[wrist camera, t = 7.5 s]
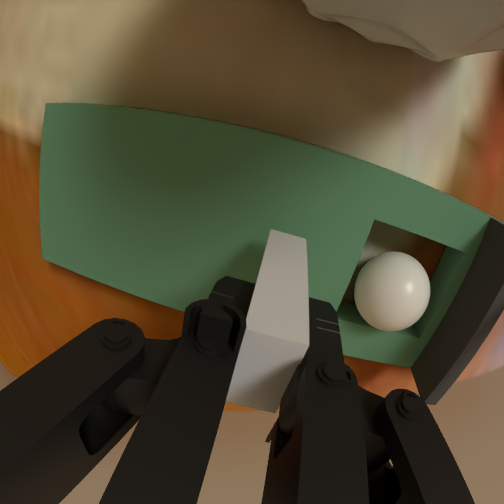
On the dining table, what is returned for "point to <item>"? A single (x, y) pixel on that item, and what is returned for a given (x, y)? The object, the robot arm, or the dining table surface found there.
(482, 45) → the vase
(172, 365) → the robot arm
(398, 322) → the ball
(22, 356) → the dining table surface
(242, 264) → the green
